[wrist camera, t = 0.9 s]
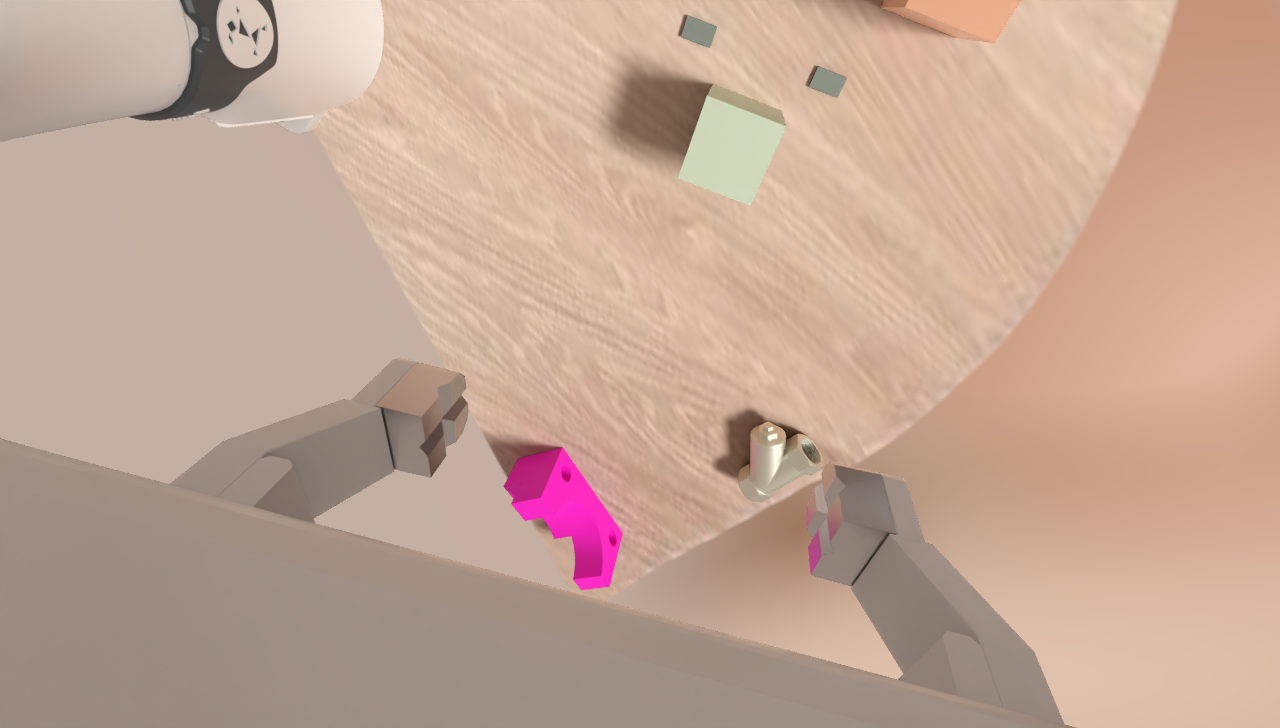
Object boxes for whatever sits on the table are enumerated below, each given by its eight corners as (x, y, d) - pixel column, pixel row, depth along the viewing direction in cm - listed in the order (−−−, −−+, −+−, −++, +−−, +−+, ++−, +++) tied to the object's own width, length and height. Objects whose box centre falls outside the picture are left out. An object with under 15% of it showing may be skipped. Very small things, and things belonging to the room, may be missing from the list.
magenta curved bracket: (518, 457, 60) (492, 507, 54) (563, 446, 57) (540, 497, 51) (580, 539, 66) (563, 592, 60) (623, 532, 64) (609, 586, 58)
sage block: (687, 157, 38) (677, 178, 33) (713, 83, 35) (707, 95, 30) (750, 181, 38) (750, 205, 33) (781, 110, 35) (786, 126, 30)
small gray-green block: (681, 36, 34) (681, 36, 33) (687, 15, 33) (687, 15, 33) (709, 47, 34) (709, 47, 34) (716, 26, 33) (716, 26, 33)
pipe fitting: (772, 432, 46) (824, 475, 47) (773, 405, 49) (822, 446, 50) (711, 471, 51) (760, 510, 52) (716, 444, 54) (762, 481, 55)
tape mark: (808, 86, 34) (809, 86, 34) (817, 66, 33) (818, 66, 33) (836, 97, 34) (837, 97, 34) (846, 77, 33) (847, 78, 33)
